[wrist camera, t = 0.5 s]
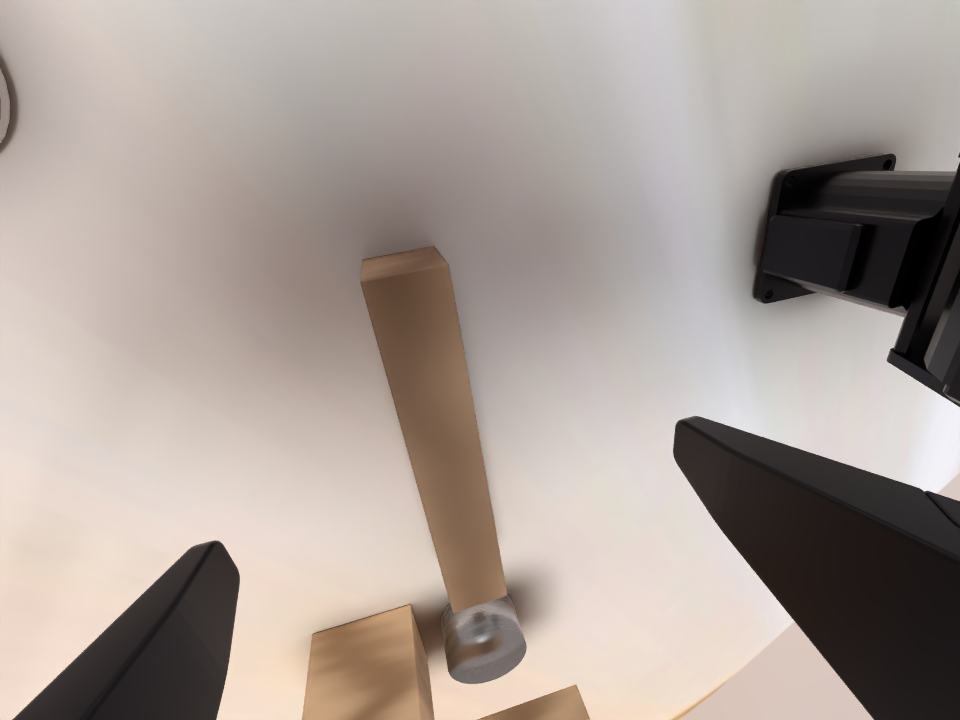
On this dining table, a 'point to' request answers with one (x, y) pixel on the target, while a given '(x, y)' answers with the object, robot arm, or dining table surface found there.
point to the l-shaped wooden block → (395, 676)
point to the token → (482, 641)
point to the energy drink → (4, 107)
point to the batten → (436, 416)
